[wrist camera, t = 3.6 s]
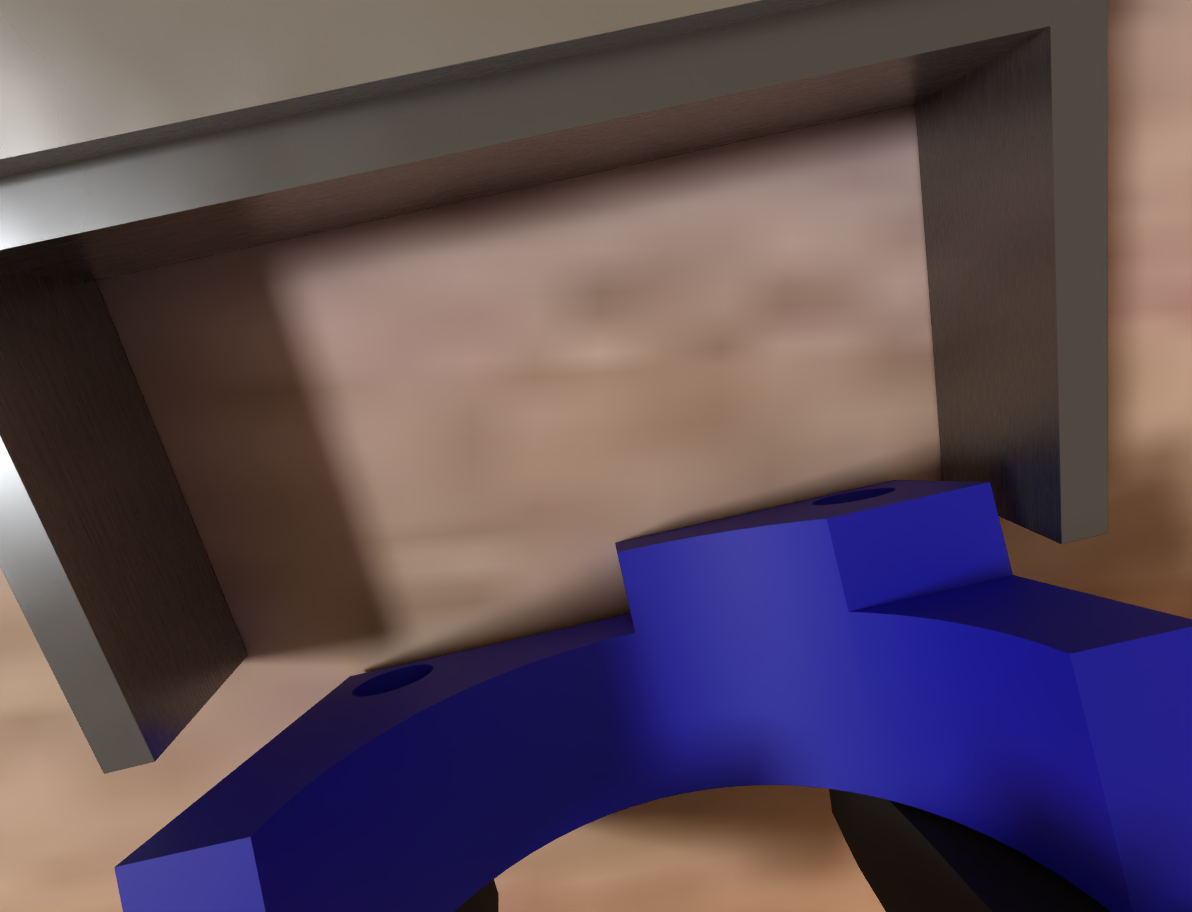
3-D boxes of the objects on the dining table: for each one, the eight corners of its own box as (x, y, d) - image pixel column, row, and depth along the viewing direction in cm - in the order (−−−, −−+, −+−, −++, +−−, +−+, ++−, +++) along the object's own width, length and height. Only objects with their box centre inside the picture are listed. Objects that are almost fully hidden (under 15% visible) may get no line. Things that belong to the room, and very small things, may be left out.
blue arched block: (895, 479, 12) (1172, 486, 6) (946, 693, 12) (1278, 902, 6) (334, 605, 12) (88, 729, 6) (379, 819, 12) (169, 1149, 6)
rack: (997, 478, 13) (1161, 538, 9) (209, 664, 12) (79, 798, 9) (965, -160, 10) (1181, -403, 7) (-54, 48, 9) (-392, -102, 6)
